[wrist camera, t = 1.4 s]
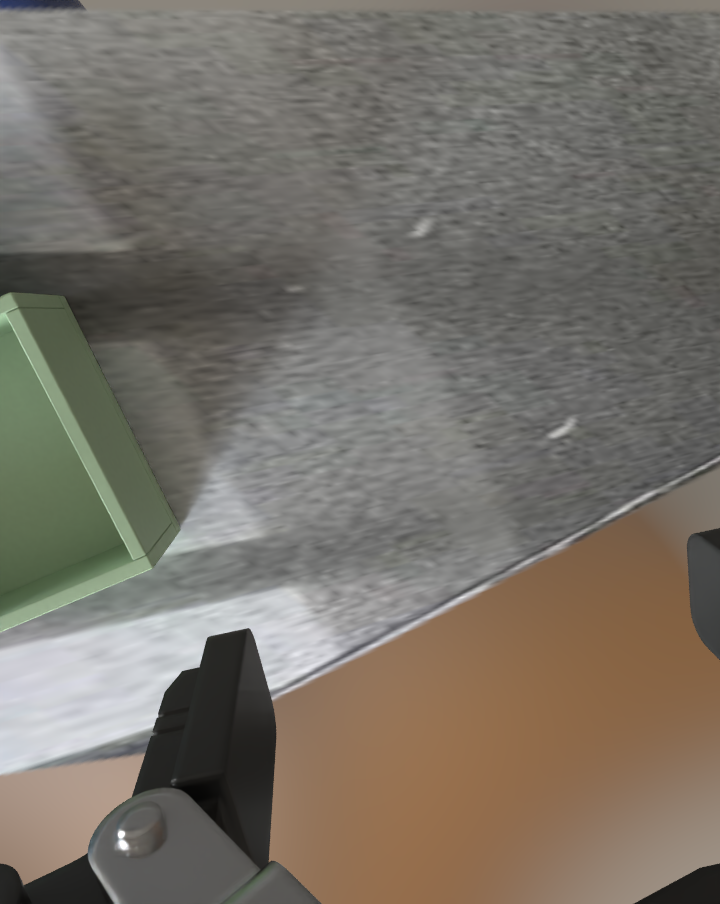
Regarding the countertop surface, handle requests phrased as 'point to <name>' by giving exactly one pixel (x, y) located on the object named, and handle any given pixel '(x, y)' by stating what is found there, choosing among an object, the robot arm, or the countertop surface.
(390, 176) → the countertop surface
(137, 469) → the green tote
